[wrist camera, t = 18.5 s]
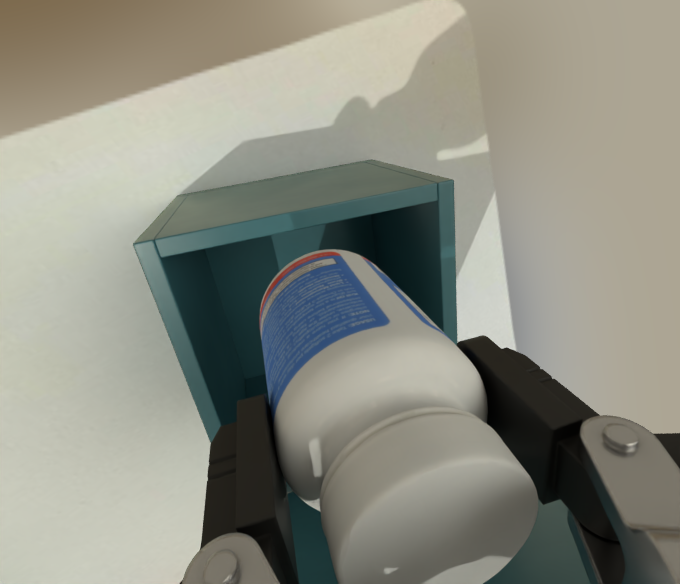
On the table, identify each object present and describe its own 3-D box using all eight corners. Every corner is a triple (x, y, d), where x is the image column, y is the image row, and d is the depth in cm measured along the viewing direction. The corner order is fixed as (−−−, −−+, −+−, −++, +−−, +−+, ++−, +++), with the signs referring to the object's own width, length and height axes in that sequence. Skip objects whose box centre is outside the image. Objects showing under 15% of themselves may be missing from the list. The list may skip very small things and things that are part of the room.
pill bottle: (248, 362, 16) (258, 660, 7) (271, 234, 14) (321, 419, 5) (373, 371, 17) (507, 622, 9) (407, 258, 16) (622, 429, 7)
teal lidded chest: (177, 195, 26) (132, 243, 15) (372, 159, 28) (454, 179, 17) (237, 383, 32) (236, 509, 21) (392, 342, 34) (460, 439, 24)
